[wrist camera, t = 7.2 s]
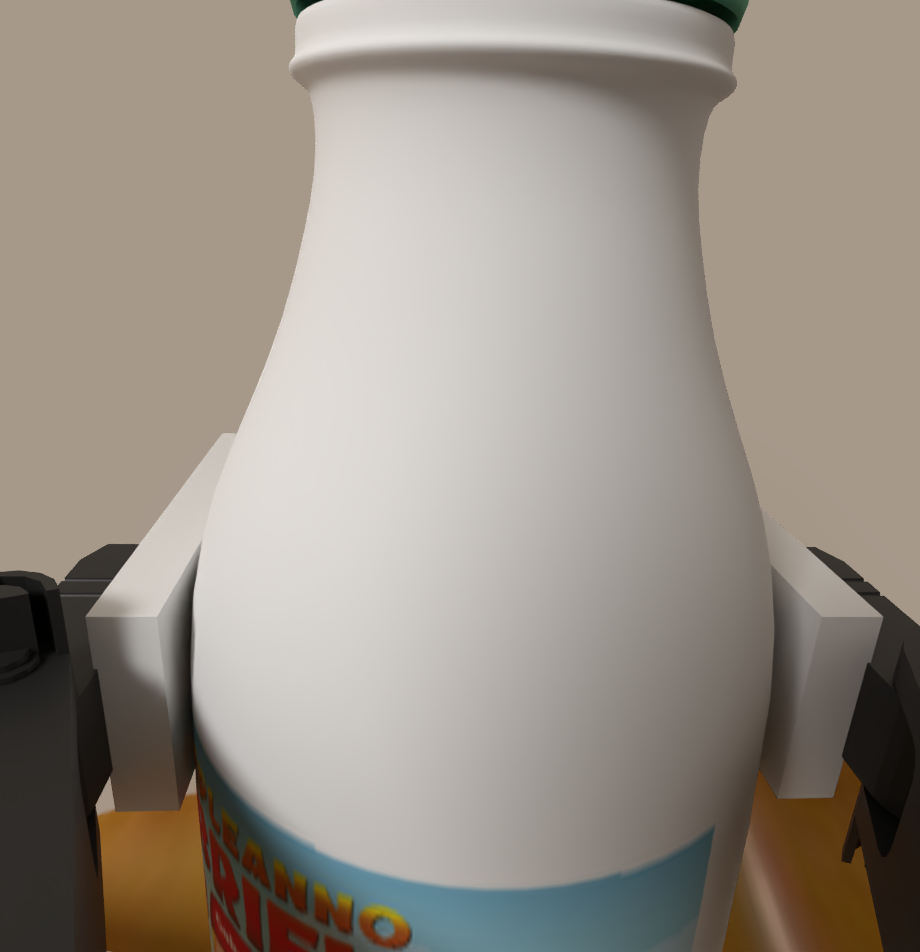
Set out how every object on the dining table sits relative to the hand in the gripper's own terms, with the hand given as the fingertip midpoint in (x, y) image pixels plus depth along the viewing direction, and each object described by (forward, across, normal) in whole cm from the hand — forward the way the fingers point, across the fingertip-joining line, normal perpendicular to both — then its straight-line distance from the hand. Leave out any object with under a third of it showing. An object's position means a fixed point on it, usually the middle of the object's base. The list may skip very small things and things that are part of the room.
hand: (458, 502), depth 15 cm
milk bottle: (-5, 0, -11) cm, 12 cm away
